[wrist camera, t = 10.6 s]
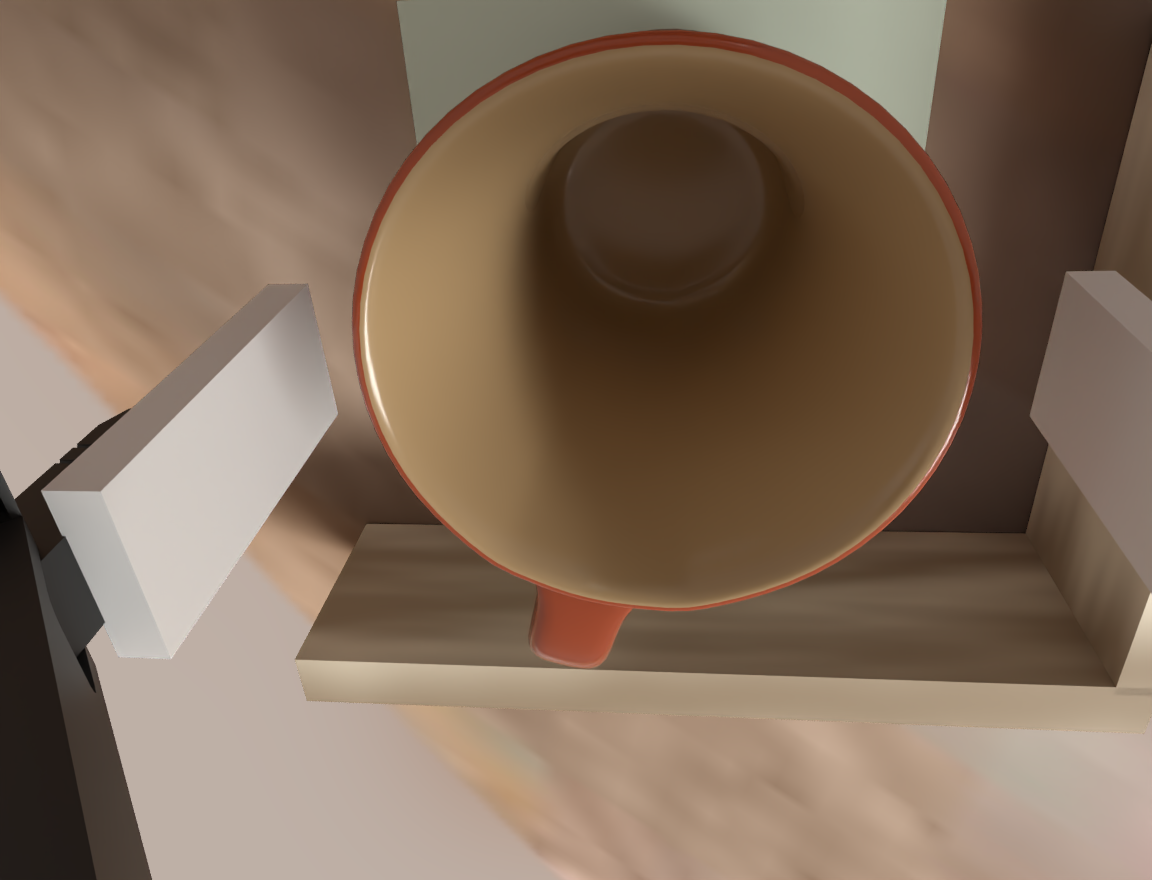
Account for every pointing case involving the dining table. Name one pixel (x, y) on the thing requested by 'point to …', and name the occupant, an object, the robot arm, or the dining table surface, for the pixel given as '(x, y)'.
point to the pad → (703, 3)
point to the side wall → (1060, 510)
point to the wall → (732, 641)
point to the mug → (665, 325)
